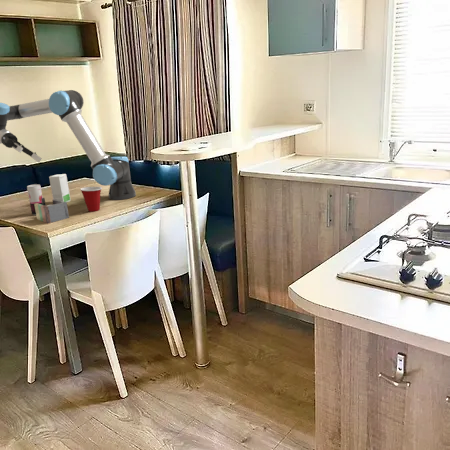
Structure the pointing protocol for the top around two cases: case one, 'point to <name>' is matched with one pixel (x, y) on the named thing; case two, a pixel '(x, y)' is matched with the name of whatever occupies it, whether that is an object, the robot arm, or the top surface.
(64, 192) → the skincare box
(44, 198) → the plunger
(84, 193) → the plastic cup
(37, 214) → the grey desk organizer
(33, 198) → the beverage can
